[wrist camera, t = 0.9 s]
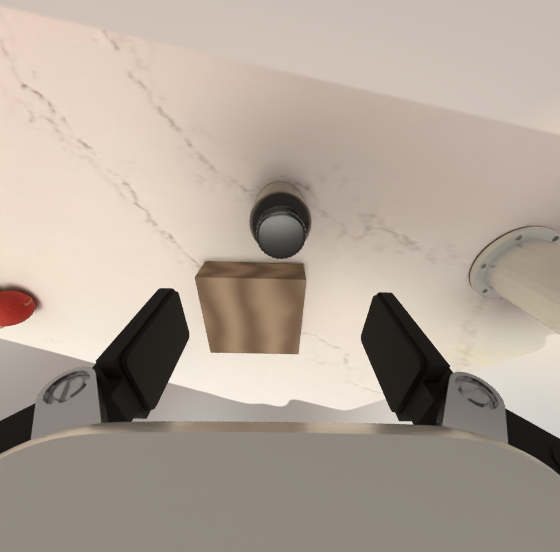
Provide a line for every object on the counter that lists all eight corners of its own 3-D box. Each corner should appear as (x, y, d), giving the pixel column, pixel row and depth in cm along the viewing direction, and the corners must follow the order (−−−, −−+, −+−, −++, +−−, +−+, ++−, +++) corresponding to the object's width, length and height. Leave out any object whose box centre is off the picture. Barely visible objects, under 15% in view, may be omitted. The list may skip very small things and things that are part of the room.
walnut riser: (303, 263, 35) (306, 279, 30) (296, 333, 43) (298, 354, 39) (205, 261, 34) (194, 277, 30) (217, 332, 43) (210, 352, 38)
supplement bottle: (262, 233, 32) (253, 273, 22) (250, 186, 29) (233, 206, 18) (306, 225, 31) (319, 262, 21) (300, 176, 28) (312, 191, 18)
